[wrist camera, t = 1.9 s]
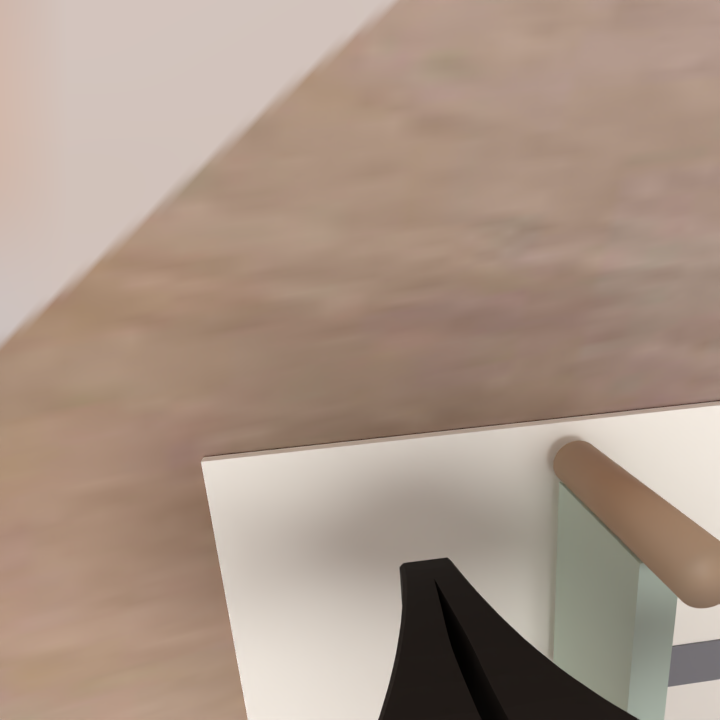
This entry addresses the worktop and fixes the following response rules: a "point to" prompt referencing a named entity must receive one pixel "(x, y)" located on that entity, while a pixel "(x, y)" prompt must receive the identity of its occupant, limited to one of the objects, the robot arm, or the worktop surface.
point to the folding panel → (623, 579)
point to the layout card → (431, 547)
